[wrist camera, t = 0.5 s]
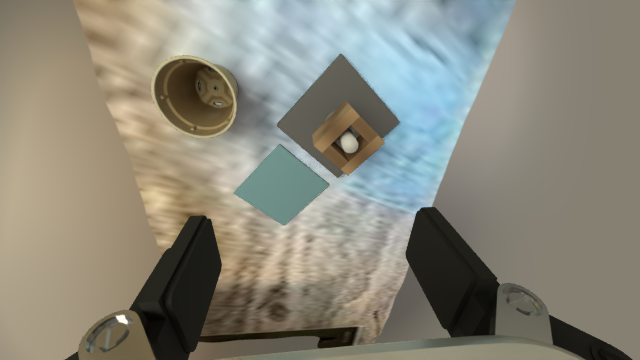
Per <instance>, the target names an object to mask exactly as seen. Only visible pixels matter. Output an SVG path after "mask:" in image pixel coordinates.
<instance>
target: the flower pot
mask: <svg viewBox="0 0 640 360" xmlns="http://www.w3.org/2000/svg"><path fill="white" fill-rule="evenodd" d="M209 68H213V69H214V70H216V71H210V70H209ZM199 82H200V85H201V90H199V86H198V83H199ZM215 86H216V87H217V89H216V90H215V89H214V87H215ZM151 93H152V98H153V101H154V103H155V106H156V108H157V109H158V111H159V113H160V114H161V116H162V117H163V118H164V119H165V120H166V121H167V123H169V124H170V125H171V126H172V127H173V128H175V129H176V130H178V131H180V132H182V133H184V134H186V135H188V136H192V137H196V138H212V137H216V136H218V135H220V134H222V133H224V132H225V131H227V130H228V129H229V127H230V126H231V125H232V123H233V121H234V119H235V116H236V112H237V100H236V99H237V96H238V87H237V83H236V80H235V79H234V77H233V76H232V75H231V73H230V72H229V71H227V70H226V69H225V68H223V67H221V66H219V65H215V64H211V63H210V62H208V61H206V60H204V59H201V58H198V57H195V56H188V55H183V56H175V57H172V58H169V59H167V60H165V61H164V62H162V63H161V64H160V65H159V66H158V68H157V69H156V71H155V72H154V74H153V77H152V82H151ZM214 102H219V103H221V102H222V106H219V105H215V104H214Z"/></svg>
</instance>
